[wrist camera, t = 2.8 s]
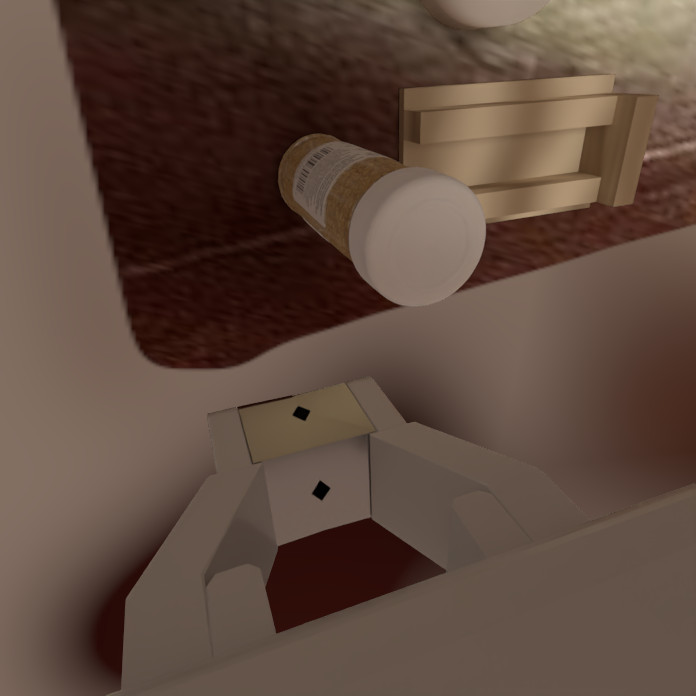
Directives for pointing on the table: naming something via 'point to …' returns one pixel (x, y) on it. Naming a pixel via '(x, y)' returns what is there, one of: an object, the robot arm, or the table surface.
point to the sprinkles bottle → (386, 217)
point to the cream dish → (482, 12)
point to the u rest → (530, 141)
